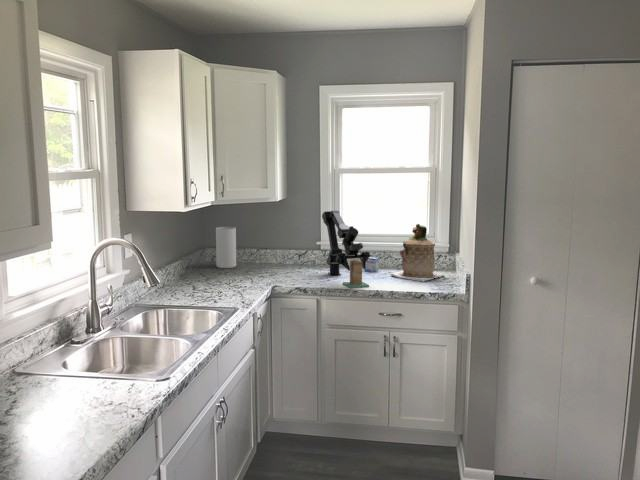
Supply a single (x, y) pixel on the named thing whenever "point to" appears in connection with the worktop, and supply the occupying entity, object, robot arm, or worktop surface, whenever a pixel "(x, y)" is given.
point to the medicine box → (372, 265)
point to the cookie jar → (418, 257)
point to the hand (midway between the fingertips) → (357, 269)
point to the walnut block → (356, 272)
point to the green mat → (355, 285)
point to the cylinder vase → (226, 247)
